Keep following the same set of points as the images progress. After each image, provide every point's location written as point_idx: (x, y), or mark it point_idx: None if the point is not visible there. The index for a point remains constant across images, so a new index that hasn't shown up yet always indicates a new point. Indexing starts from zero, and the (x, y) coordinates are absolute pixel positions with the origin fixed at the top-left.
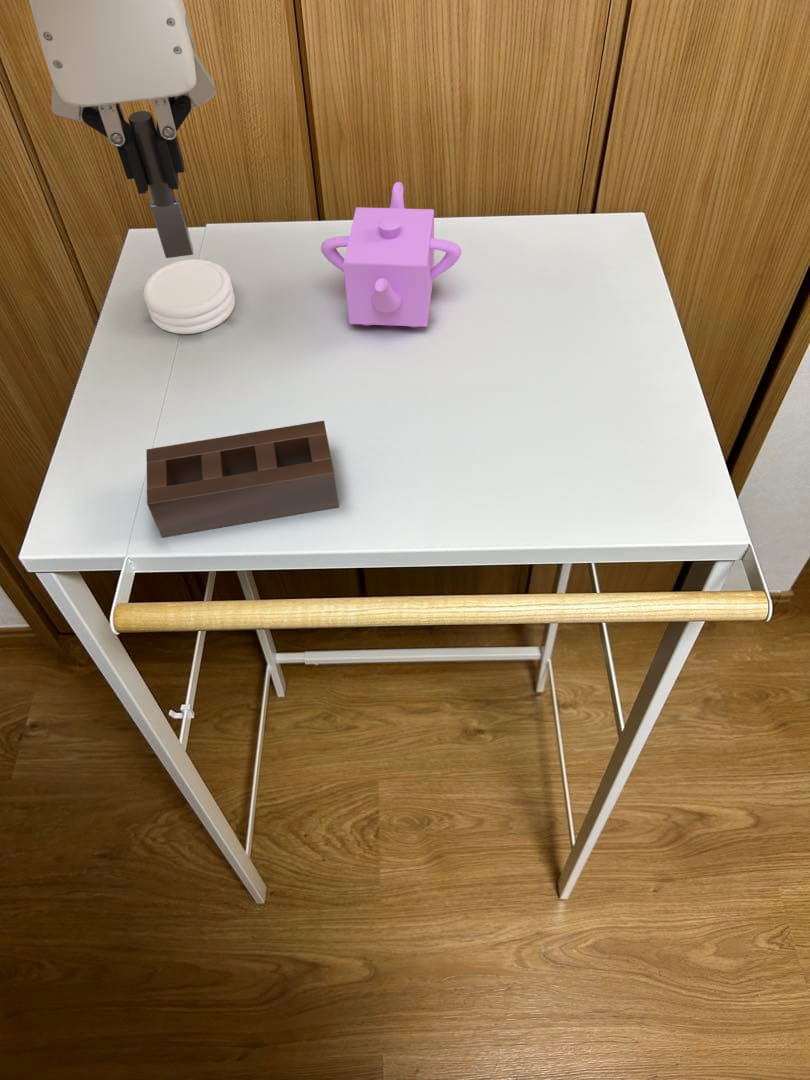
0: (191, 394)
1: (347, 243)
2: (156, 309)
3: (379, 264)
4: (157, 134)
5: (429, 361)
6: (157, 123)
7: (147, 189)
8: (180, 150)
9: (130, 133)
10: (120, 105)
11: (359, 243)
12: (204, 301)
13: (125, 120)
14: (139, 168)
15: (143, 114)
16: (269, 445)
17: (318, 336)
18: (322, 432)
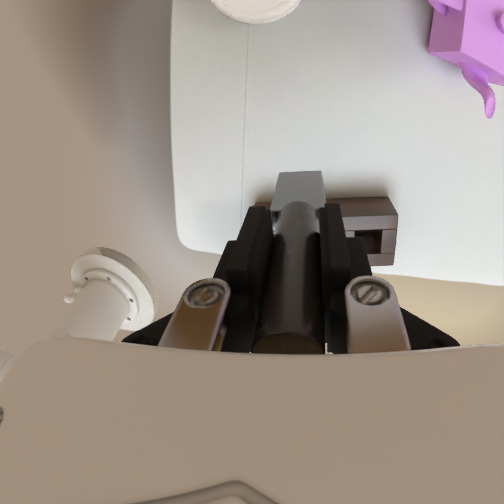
0: (270, 104)
1: (459, 9)
2: (224, 12)
3: (491, 68)
4: (325, 313)
5: (479, 112)
6: (333, 329)
7: None
8: (365, 249)
9: (252, 325)
10: (218, 334)
11: (476, 25)
12: (278, 6)
13: (230, 295)
14: None
15: (298, 349)
16: (351, 232)
17: (393, 47)
18: (394, 227)
